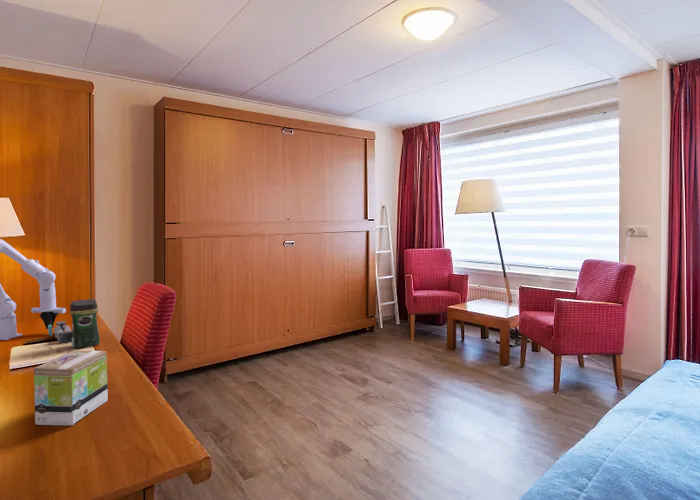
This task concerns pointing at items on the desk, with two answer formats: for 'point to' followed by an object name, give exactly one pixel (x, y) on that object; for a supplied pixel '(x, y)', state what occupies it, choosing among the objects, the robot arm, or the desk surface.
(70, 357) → the tea box
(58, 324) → the tong arm
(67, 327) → the tongs base
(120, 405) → the desk surface
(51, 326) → the lock tab
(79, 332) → the coffee jar
